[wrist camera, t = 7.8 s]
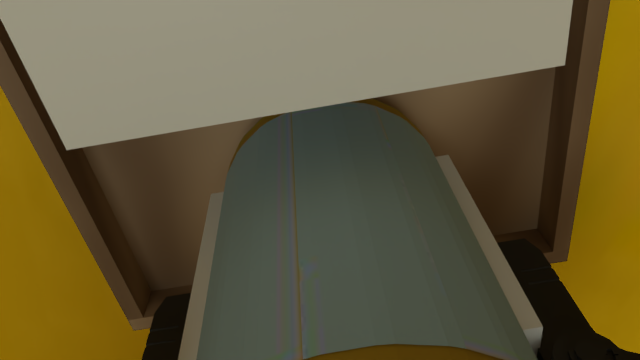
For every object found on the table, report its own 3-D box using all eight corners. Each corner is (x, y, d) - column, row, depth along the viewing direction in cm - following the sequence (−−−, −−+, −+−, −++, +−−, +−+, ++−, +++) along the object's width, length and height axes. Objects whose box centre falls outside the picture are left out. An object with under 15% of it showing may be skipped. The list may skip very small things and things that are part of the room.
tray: (144, 292, 21) (133, 330, 20) (-76, -154, 12) (-131, -155, 11) (544, 228, 21) (567, 260, 19) (607, -283, 12) (660, -303, 10)
